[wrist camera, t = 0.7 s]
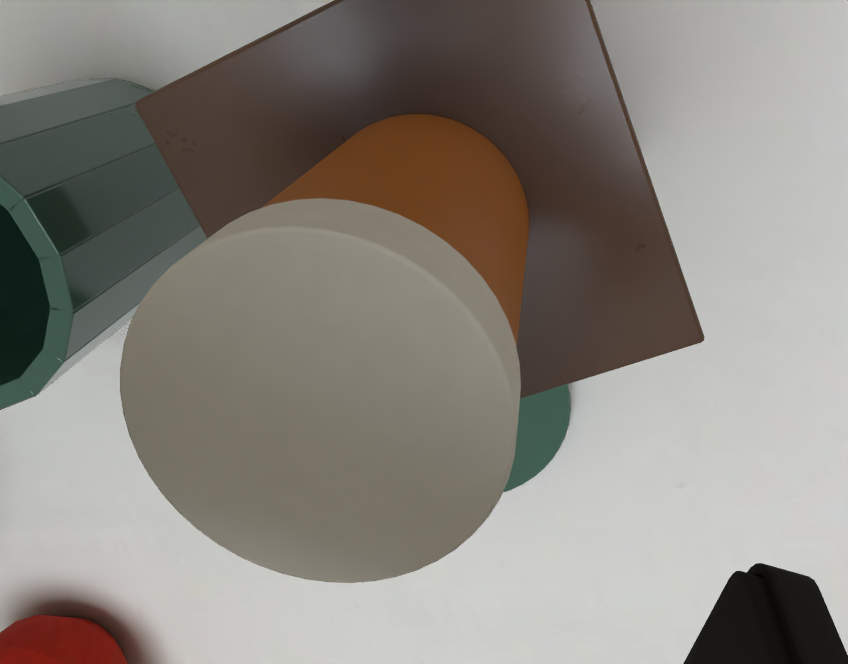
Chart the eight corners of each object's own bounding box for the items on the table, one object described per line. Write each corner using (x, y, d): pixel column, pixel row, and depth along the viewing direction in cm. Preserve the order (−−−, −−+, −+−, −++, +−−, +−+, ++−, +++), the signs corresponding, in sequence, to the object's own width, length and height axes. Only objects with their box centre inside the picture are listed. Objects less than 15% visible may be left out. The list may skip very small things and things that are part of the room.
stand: (553, -63, 30) (552, -111, 13) (630, 159, 32) (706, 342, 16) (344, 39, 32) (130, 103, 16) (432, 236, 35) (327, 460, 19)
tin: (152, 40, 33) (-53, 73, 22) (258, 242, 36) (126, 361, 25) (-15, 129, 36) (-273, 198, 25) (97, 310, 39) (-87, 444, 28)
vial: (481, 68, 15) (410, 157, 7) (567, 284, 16) (577, 534, 9) (273, 162, 16) (41, 314, 9) (369, 354, 17) (239, 619, 10)
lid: (521, 258, 35) (515, 312, 29) (601, 452, 38) (609, 533, 33) (315, 334, 38) (274, 395, 32) (406, 506, 41) (382, 589, 36)
